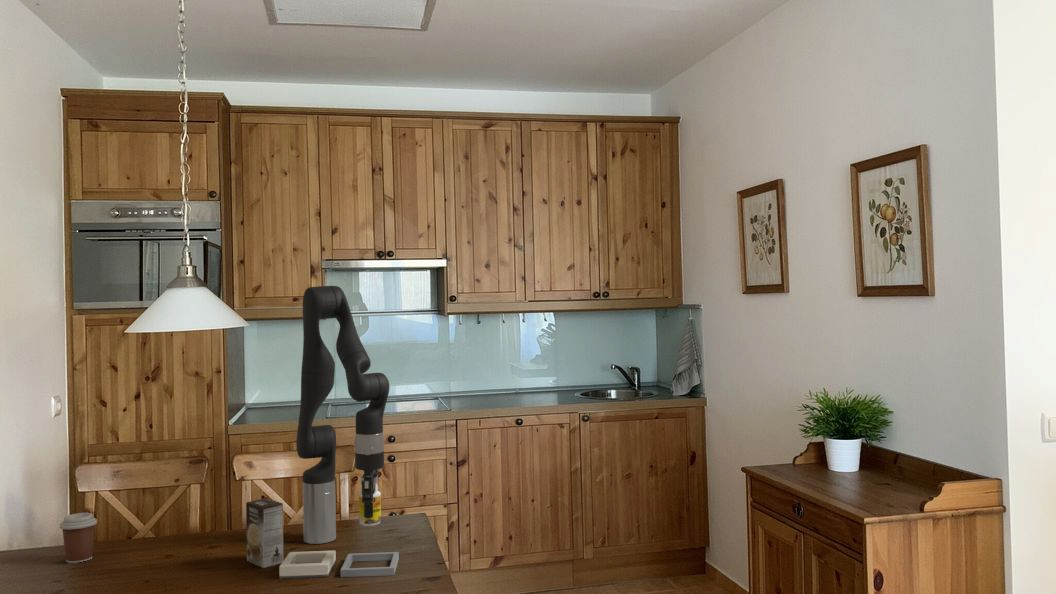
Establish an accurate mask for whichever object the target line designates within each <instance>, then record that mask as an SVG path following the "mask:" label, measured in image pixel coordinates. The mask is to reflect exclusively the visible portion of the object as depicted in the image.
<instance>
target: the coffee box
mask: <svg viewBox="0 0 1056 594" xmlns="http://www.w3.org/2000/svg"><path fill="white" fill-rule="evenodd" d="M245 504H246V505H245V509H246V512H245V514H246V515H245V517H246V518H245V520H246V524H245V525H246V562H248V561H249V563H251V564H253V565H255V566H257V567H259V566H260V568H261V569H262V568H263V569H265V568H268V567H273V566H276V565H281V564H282V562H283V561H284V503H282V502H280V501H276V500H274V499H271V498H268V497H264V498H260V499H255V500H251V501H247V502H246V503H245Z"/></svg>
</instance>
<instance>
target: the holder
mask: <svg viewBox="0 0 1056 594" xmlns="http://www.w3.org/2000/svg"><path fill="white" fill-rule="evenodd" d="M336 554H337V553H336V550H315V551H311V550H310V551H309V550H308V551H307V550H306V551H290V552H289V553H288V554H287V556H286V557H285V558H284V559H283V562H282V563H280V564H279V567H278V568H279V569H278V570H279V571H278V572H279V580H281V579H284V578H285V579H307V578H328V577H329V575H330V574H331V571H332V570H333V568H334V566H335V564H336V561H337V559H336V558H337V557H336V556H337V555H336ZM285 579H284V580H285Z"/></svg>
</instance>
